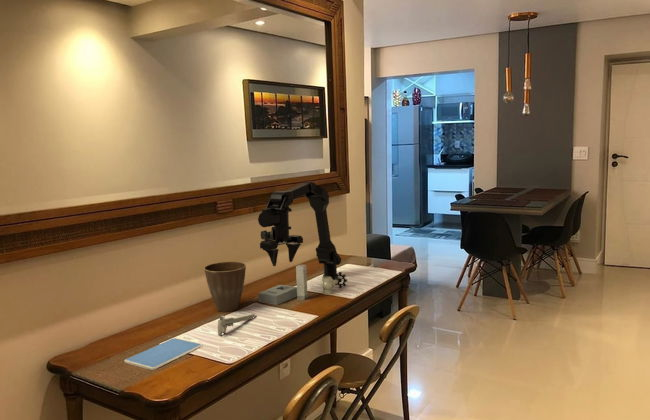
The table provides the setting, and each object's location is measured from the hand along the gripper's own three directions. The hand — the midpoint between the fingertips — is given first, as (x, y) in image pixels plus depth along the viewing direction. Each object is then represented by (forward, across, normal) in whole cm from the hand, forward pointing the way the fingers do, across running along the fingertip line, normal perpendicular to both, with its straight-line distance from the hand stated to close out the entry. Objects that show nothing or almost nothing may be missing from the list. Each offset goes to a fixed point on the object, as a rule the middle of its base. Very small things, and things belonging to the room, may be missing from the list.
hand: (282, 263), depth 207 cm
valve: (+13, -17, +11) cm, 24 cm away
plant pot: (+14, +22, -7) cm, 27 cm away
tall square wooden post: (+13, -2, +8) cm, 15 cm away
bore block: (+13, +3, 0) cm, 13 cm away
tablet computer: (+16, +61, +10) cm, 63 cm away
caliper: (+14, +32, +10) cm, 37 cm away
